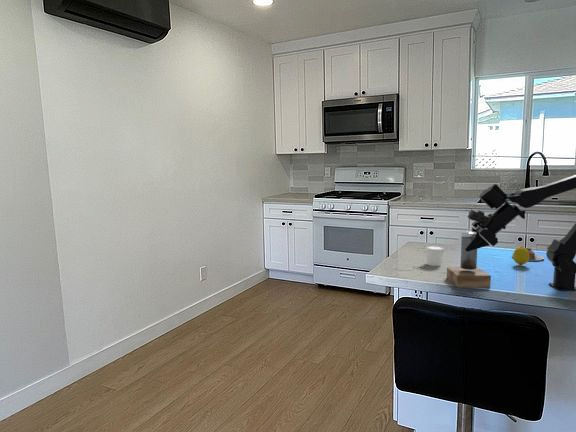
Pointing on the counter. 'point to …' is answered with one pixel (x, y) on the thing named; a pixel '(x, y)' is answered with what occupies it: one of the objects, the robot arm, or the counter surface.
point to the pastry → (533, 256)
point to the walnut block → (468, 277)
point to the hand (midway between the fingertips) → (464, 248)
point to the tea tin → (471, 256)
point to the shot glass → (434, 255)
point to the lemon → (521, 255)
